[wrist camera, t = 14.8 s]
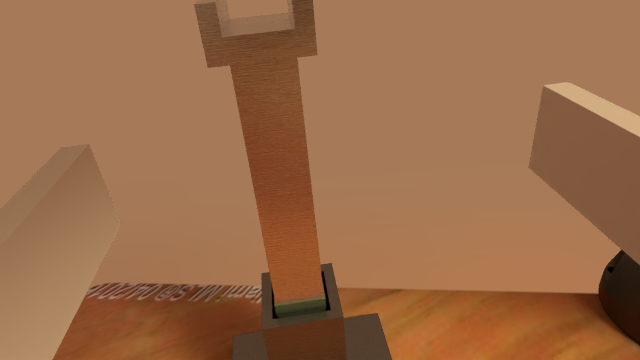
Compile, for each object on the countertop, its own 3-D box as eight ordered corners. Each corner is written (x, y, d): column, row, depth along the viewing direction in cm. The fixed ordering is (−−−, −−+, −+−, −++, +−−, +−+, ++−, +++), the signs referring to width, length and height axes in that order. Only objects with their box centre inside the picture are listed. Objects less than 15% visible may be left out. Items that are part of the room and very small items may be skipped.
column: (334, 314, 39) (302, -18, 25) (344, 367, 34) (311, -9, 20) (273, 324, 39) (207, -8, 25) (275, 378, 34) (193, 4, 20)
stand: (377, 322, 48) (375, 221, 41) (425, 477, 34) (433, 364, 27) (236, 344, 47) (208, 245, 40) (225, 513, 33) (180, 406, 26)
